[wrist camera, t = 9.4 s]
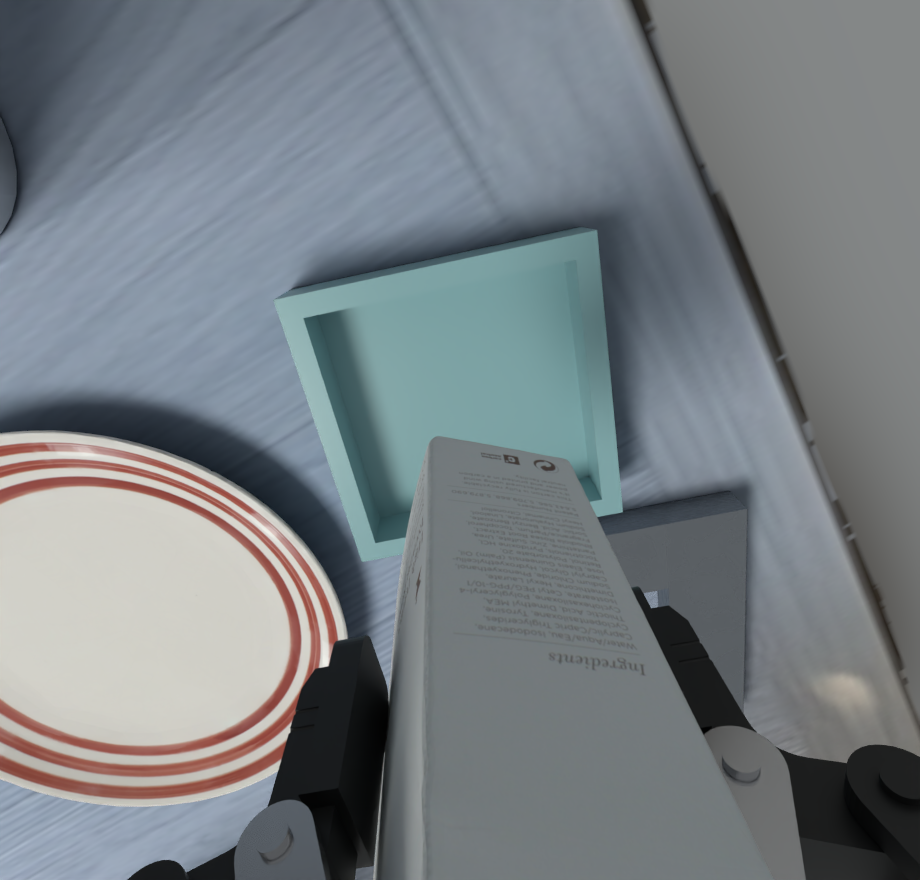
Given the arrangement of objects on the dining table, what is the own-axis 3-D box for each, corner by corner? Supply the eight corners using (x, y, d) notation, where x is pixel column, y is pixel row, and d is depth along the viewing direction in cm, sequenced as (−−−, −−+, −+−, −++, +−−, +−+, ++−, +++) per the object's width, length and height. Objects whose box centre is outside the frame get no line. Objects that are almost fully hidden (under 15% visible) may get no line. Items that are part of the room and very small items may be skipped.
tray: (368, 530, 32) (362, 562, 29) (290, 289, 26) (273, 300, 23) (606, 484, 31) (622, 512, 28) (579, 226, 25) (597, 229, 23)
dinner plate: (218, 337, 27) (190, 354, 24) (418, 702, 38) (416, 746, 35) (-228, 506, 30) (-304, 541, 27) (76, 801, 41) (47, 850, 38)
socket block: (481, 749, 40) (485, 798, 36) (426, 548, 32) (425, 588, 29) (728, 706, 39) (755, 753, 35) (729, 491, 31) (763, 524, 28)
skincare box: (425, 429, 15) (369, 1053, 4) (579, 455, 16) (909, 1081, 4) (393, 602, 18) (304, 1289, 6) (528, 620, 18) (660, 1292, 7)
